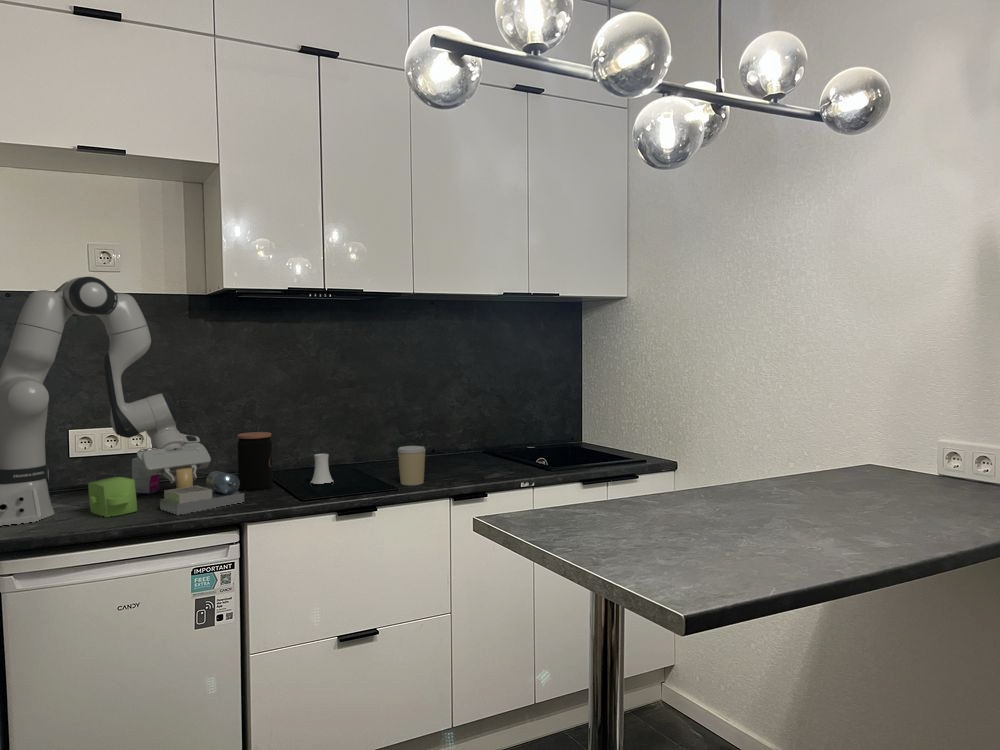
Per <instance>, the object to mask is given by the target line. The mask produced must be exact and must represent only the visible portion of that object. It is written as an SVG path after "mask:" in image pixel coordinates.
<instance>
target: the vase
mask: <svg viewBox="0 0 1000 750" xmlns="http://www.w3.org/2000/svg"><path fill="white" fill-rule="evenodd" d="M329 455H330V454H329V453H318V454H317V453H316V454H315V453H314V454H313V459H314V471H313V472H314V473H313V476H312V479H311V480H310V484H311V483H313V484H324V483H331V482H333V483H334V479H333V478H332V476H331V473H330V469H329V468H330V467H329Z"/></svg>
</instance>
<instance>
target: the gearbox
mask: <svg viewBox="0 0 1000 750" xmlns="http://www.w3.org/2000/svg"><path fill="white" fill-rule="evenodd" d="M87 485H88V486H87V488H88V500H89V507H90V513H91V512H92V513H95V514H98V515H101V516H100V517H102V516H104V517H103V518H111V516H112V517H117V516H120V515H126V514H132V513H135V512H138V500H137V494H136V489H135V480H133V479H132V478H129V477H123V476H115V477H113V476H112V477H108V478H103V479H98V480H95V481H91V482H88V483H87ZM92 513H91V514H92ZM95 514H94V515H95ZM98 515H97V516H98Z"/></svg>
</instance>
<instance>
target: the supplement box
mask: <svg viewBox="0 0 1000 750" xmlns="http://www.w3.org/2000/svg"><path fill="white" fill-rule="evenodd" d="M131 479H133V480H135V489H136V495H140V494H148V495H151V494H154V493H157V491H158V492H160V482H159V481H160V474H159V475H152V476H146V475H144V474H143V472H142V468H141V463H140V460H139V459H138V457H134V458H131ZM150 493H151V494H150Z"/></svg>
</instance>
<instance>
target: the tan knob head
mask: <svg viewBox="0 0 1000 750" xmlns="http://www.w3.org/2000/svg"><path fill="white" fill-rule="evenodd" d="M175 476H176V477H177V479H178V481H177V483H175V485H176V489H177V488H183V487H189V486H194V480H193V470H192V468H179V469H176V472H175Z"/></svg>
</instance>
